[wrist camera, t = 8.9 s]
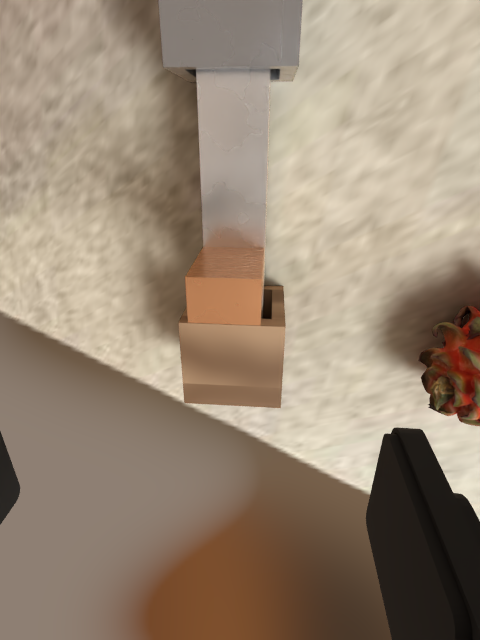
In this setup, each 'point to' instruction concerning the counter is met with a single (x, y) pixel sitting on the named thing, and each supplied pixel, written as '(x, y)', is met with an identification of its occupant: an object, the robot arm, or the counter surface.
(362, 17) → the counter surface
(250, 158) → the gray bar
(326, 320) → the counter surface
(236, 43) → the sleeve
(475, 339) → the dragon fruit
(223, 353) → the socket block
